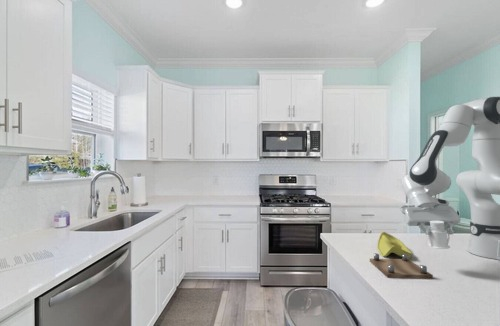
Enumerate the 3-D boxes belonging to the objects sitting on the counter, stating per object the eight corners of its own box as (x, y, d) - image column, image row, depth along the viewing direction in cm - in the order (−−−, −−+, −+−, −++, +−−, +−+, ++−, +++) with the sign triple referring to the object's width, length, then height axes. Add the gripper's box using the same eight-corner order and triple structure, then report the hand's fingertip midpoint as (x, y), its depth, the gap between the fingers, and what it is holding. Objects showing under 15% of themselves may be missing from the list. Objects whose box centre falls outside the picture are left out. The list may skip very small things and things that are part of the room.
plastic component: (413, 255, 110) (391, 243, 112) (405, 269, 112) (382, 257, 114) (399, 239, 129) (380, 229, 131) (392, 251, 131) (373, 242, 133)
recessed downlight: (443, 243, 104) (441, 219, 104) (456, 249, 97) (453, 223, 97) (423, 244, 105) (421, 220, 105) (434, 250, 98) (431, 224, 98)
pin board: (408, 262, 108) (408, 253, 108) (432, 278, 92) (432, 268, 92) (369, 261, 109) (369, 252, 109) (387, 277, 93) (387, 267, 93)
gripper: (401, 201, 109) (416, 230, 99) (451, 200, 107) (471, 229, 98) (396, 210, 113) (410, 238, 103) (444, 209, 112) (462, 237, 102)
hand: (440, 233), depth 100 cm, fingers closed on recessed downlight, 7 cm apart
